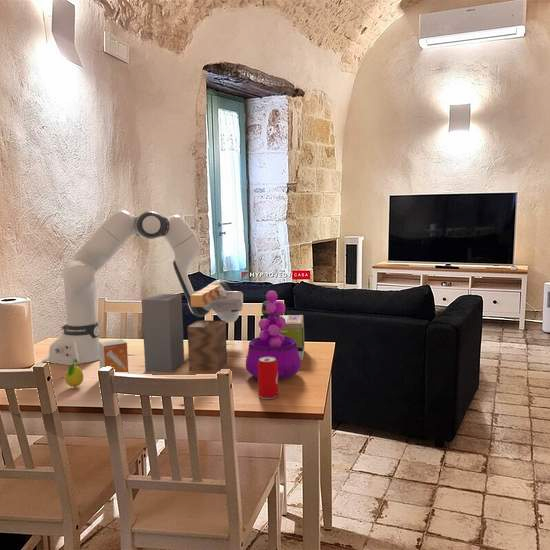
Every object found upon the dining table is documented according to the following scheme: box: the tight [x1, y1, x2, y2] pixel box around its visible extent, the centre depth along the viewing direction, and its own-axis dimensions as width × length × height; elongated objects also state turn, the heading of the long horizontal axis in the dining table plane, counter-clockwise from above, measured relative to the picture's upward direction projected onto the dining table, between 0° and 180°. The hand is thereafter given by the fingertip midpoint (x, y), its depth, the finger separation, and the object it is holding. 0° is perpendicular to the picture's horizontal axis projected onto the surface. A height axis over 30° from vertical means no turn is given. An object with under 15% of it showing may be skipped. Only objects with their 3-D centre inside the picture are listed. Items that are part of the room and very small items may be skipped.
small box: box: [99, 338, 129, 373], centre depth 185 cm, size 8×6×13 cm
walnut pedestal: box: [187, 319, 228, 372], centre depth 197 cm, size 11×11×16 cm
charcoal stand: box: [141, 293, 185, 373], centre depth 197 cm, size 13×10×26 cm
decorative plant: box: [245, 290, 302, 381], centre depth 182 cm, size 19×18×30 cm
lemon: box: [64, 358, 84, 389], centre depth 177 cm, size 7×6×10 cm
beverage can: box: [257, 357, 280, 400], centre depth 165 cm, size 6×6×12 cm
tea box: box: [279, 314, 305, 361], centre depth 209 cm, size 15×10×15 cm, turn 175°
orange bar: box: [190, 284, 220, 307], centre depth 194 cm, size 22×4×4 cm, turn 170°
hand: (211, 290), depth 201 cm, fingers closed on orange bar, 4 cm apart
